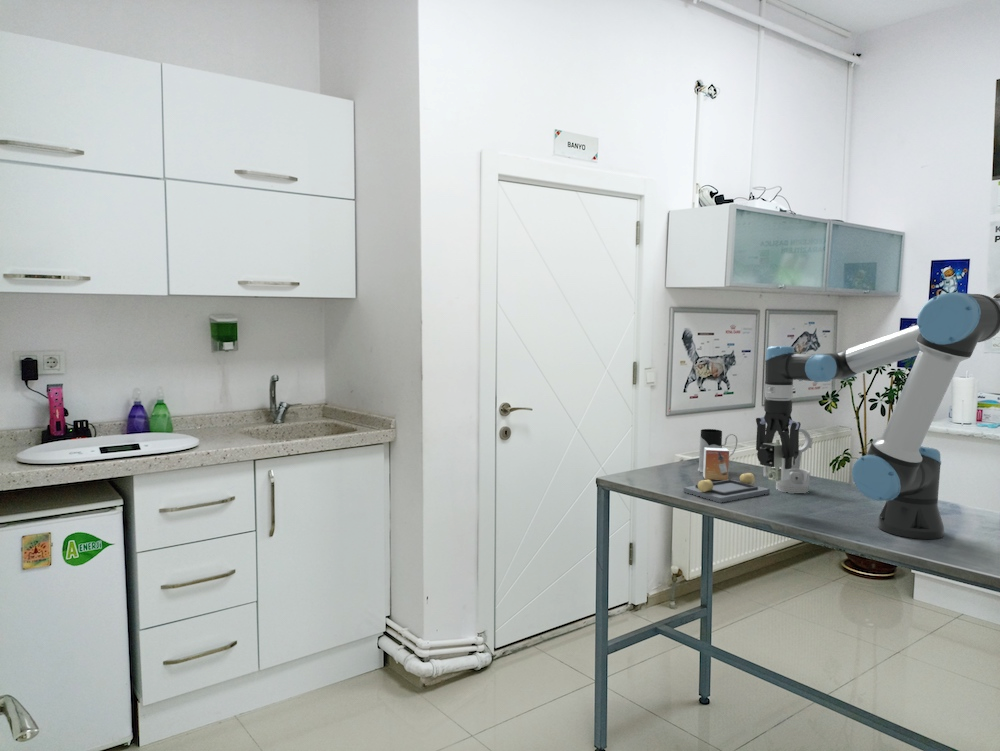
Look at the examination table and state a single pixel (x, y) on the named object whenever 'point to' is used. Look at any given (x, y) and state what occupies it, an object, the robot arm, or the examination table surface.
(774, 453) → the pneumatic valve
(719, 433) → the glass holder
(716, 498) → the mounting plate
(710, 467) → the small box
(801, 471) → the engine component
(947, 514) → the examination table surface
